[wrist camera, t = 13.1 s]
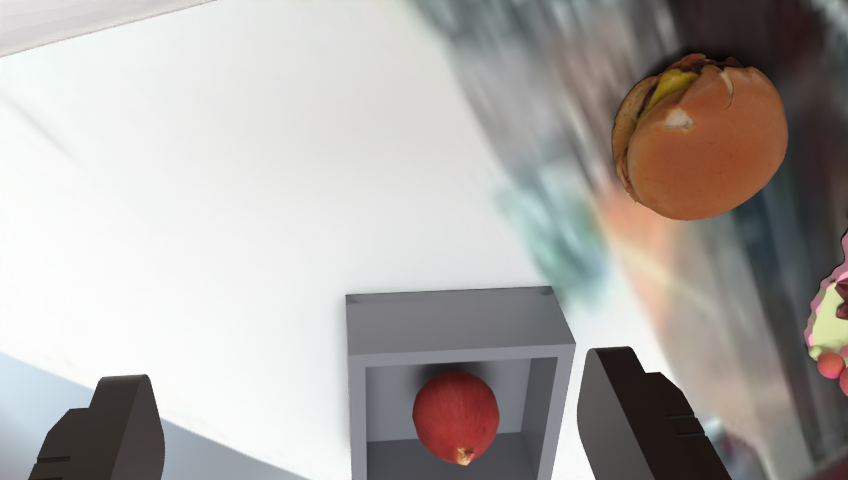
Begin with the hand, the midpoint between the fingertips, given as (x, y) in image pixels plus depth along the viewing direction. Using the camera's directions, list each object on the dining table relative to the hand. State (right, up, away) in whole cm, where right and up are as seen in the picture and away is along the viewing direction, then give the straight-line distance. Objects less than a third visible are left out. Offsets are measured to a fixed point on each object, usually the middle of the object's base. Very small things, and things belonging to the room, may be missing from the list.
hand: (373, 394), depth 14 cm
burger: (+17, +10, +32) cm, 37 cm away
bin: (+3, -6, +40) cm, 41 cm away
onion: (+3, -7, +39) cm, 40 cm away
